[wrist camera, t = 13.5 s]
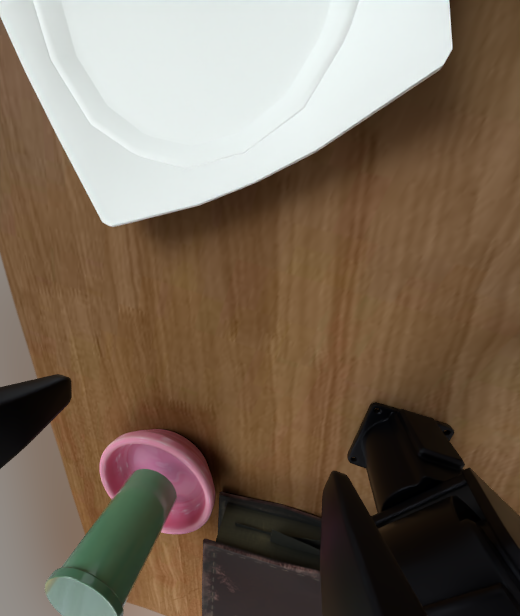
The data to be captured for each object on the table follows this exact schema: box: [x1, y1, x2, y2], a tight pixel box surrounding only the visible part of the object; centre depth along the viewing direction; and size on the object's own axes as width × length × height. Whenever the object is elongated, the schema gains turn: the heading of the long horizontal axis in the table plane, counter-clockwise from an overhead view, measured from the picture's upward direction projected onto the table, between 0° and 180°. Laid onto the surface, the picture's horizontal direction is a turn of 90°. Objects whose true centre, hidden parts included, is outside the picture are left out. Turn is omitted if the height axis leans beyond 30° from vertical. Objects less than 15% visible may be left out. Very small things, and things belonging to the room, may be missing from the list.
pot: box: [45, 469, 177, 616], centre depth 20 cm, size 6×6×8 cm
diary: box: [202, 492, 322, 616], centre depth 25 cm, size 19×25×5 cm
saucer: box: [100, 429, 215, 534], centre depth 25 cm, size 12×12×3 cm
